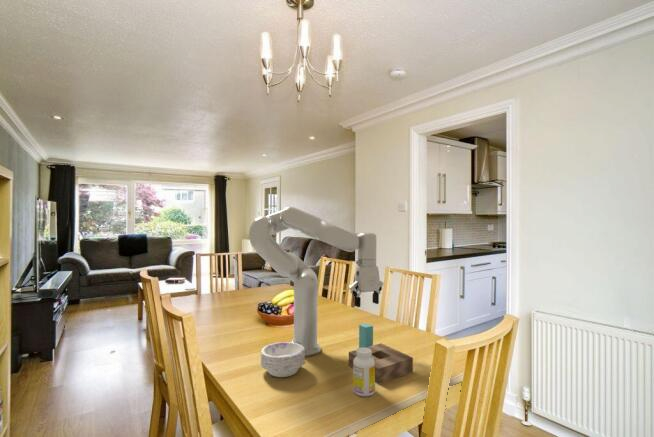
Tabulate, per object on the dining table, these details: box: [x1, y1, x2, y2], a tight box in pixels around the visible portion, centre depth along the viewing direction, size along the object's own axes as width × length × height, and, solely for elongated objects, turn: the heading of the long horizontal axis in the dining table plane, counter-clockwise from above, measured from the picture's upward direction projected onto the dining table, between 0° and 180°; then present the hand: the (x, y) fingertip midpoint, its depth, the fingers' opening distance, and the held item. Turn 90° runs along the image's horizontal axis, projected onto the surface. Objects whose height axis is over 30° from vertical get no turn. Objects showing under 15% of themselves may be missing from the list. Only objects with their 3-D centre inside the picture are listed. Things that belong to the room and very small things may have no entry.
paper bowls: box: [260, 341, 306, 378], centre depth 116 cm, size 15×15×8 cm
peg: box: [358, 323, 374, 348], centre depth 135 cm, size 4×4×10 cm
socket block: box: [348, 342, 414, 385], centre depth 118 cm, size 16×16×5 cm
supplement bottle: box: [352, 347, 376, 397], centre depth 102 cm, size 7×7×13 cm
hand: (366, 304), depth 135 cm, fingers open, 9 cm apart
